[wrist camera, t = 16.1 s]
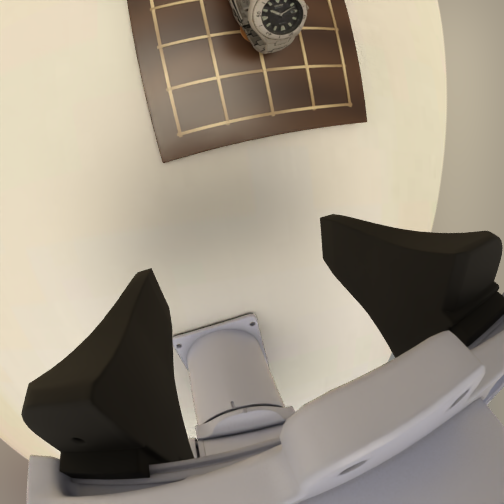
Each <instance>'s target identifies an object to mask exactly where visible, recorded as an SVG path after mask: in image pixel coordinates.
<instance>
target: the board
mask: <svg viewBox="0 0 504 504" xmlns="http://www.w3.org/2000/svg"><path fill="white" fill-rule="evenodd" d="M304 1H305V3H306V5H307V6H308V7H309V9H308V10H307V17H306V20H305V23H304V26H303V28H302V30H301V31H300V33H299V34H298V35H297V36H295V39H294V40H293V42H292V43H291V44H290V45H289V46H287V47H286V48H284V49H282V50H280V51H277V52H274V53H267V54H263V53H260V52H258V51H256V50H255V49H254V47H253V46H252V44H251V42H250V41H249V40H248V38H247V35H246V34H245V32H244V30H243V29H242V27H241V26H240V25H239V24H238V22H237V21H236V19H235V18H234V15H233V14H234V13H233V9H232V7H231V6H230V2H229V0H127V3H128V9H129V15H130V21H131V27H132V33H133V38H134V43H135V49H136V54H137V59H138V63H139V68H140V73H141V78H142V82H143V87H144V91H145V95H146V100H147V104H148V108H149V112H150V116H151V120H152V124H153V128H154V132H155V136H156V139H157V143H158V147H159V151H160V154H161V158H162V162H163V163H166V162H169V161H172V160H176V159H179V158H182V157H186V156H189V155H193V154H196V153H200V152H204V151H208V150H211V149H215V148H219V147H223V146H227V145H231V144H236V143H240V142H244V141H249V140H254V139H258V138H263V137H268V136H273V135H278V134H284V133H289V132H295V131H301V130H307V129H314V128H321V127H328V126H336V125H344V124H353V123H363V122H367V116H366V108H365V100H364V92H363V86H362V79H361V73H360V67H359V62H358V56H357V51H356V46H355V41H354V37H353V32H352V28H351V24H350V20H349V16H348V12H347V8H346V5H345V1H344V0H304Z"/></svg>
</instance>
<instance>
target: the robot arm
mask: <svg viewBox="0 0 504 504" xmlns="http://www.w3.org/2000/svg"><path fill="white" fill-rule="evenodd" d="M320 224H321V236H322V251H323V259H324V261H325V262H326V264H327V266H328V267H329V269H330V270H331V271H332V273H333V274H334V276H335V277H336V278H337V279H338V280H339V281H340V282H341V284H342V285H343V286H344V287H345V288H346V289H347V290H348V291H349V292H350V293H351V295H352V296H353V297H354V298H355V299H356V300H357V301H358V302H359V303H360V305H361V306H362V307H363V308H364V309H365V310H366V312H367V313H368V314H369V316H370V317H371V319H372V320H373V322H374V323H375V325H376V326H377V328H378V329H379V331H380V332H381V334H382V335H383V337H384V339H385V340H386V342H387V344H388V345H389V347H390V349H391V351H392V353H393V355H394V356H395V358H394V359H393V360H391V361H389V362H387V363H385V364H383V365H382V366H380V367H378V368H376V369H374V370H372V371H370V372H368V373H366V374H364V375H362V376H360V377H358V378H356V379H354V380H352V381H350V382H348V383H346V384H343V385H341V386H339V387H337V388H335V389H332V390H330V391H328V392H326V393H325V394H323V395H321V396H319V397H317V398H316V399H314V400H312V401H310V402H308V403H306V404H304V405H303V406H302V407H301V408H300V409H299V410H297V411H296V412H295V411H294V409H293V406H289V407H285V405H284V403H283V400H282V398H281V396H280V393H279V391H278V389H277V386H276V384H275V382H274V379H273V377H272V374H271V372H270V369H269V365H268V361H267V357H266V353H265V350H264V346H263V342H262V338H261V334H260V330H259V326H258V322H257V318H256V316H255V315H254V314H248V315H244V316H241V317H238V318H235V319H232V320H229V321H225V322H222V323H219V324H215V325H212V326H209V327H205V328H202V329H199V330H195V331H192V332H188V333H185V334H181V335H177V336H174V337H173V338H172V323H171V317H170V310H169V306H168V304H167V302H166V300H165V298H164V295H163V293H162V291H161V289H160V286H159V284H158V282H157V280H156V277H155V275H154V273H153V271H152V268H150V269H147V270H144V271H141V272H138V273H137V274H136V275H135V276H134V278H133V279H132V280H131V282H130V283H129V285H128V286H127V287H126V289H125V290H124V292H123V293H122V295H121V296H120V298H119V299H118V300H117V302H116V303H115V304H114V306H113V307H112V308H111V310H110V311H109V312H108V314H107V315H106V316H105V318H104V319H103V320H102V321H101V323H100V324H99V325H98V326H97V327H96V328H95V330H94V331H93V332H92V333H91V334H90V335H89V336H88V337H87V338H86V339H85V340H84V341H83V342H82V343H81V344H80V345H79V346H78V347H77V348H76V349H75V350H74V351H73V352H71V353H70V354H69V355H68V356H67V357H66V358H64V359H63V360H62V361H61V362H59V363H58V364H57V365H56V366H54V367H53V368H52V369H50V370H49V371H47V372H46V373H44V374H43V375H41V376H40V377H38V378H37V379H35V380H34V381H32V382H31V383H29V385H28V389H27V393H26V397H25V401H24V405H23V409H22V414H21V415H22V418H23V420H24V422H25V423H26V425H27V426H28V427H29V428H30V429H31V430H32V431H33V432H34V433H35V434H37V435H38V436H39V437H41V438H42V439H43V440H45V441H46V442H47V443H49V444H50V445H52V446H53V447H55V448H56V449H58V450H59V451H61V455H60V459H58V458H55V457H50V456H38V455H30V458H29V468H28V469H29V470H28V483H27V504H504V426H503V425H502V424H501V422H500V421H499V420H498V418H497V417H496V416H495V415H494V413H493V412H492V411H491V410H490V408H489V407H488V406H487V404H488V403H489V402H490V401H491V400H492V399H493V398H494V397H495V396H496V395H497V394H498V392H499V391H500V390H501V389H502V388H503V387H504V293H503V295H501V294H500V293H499V292H497V291H498V289H499V285H498V284H496V283H495V282H494V279H495V276H496V273H497V270H498V266H499V263H500V260H501V255H502V242H501V240H500V238H499V237H497V236H496V235H495V234H493V233H491V232H489V231H479V232H468V233H430V232H419V231H411V230H404V229H398V228H393V227H389V226H384V225H379V224H375V223H371V222H367V221H363V220H359V219H355V218H351V217H347V216H342V215H335V214H332V215H328V216H325V217H321V218H320ZM251 322H253V323H251ZM250 323H251V324H250ZM177 344H181V345H177ZM173 346H174V348H175V350H176V351H177V353H178V355H179V357H180V358H181V360H182V362H183V363H184V365H185V367H186V368H187V370H188V372H189V377H190V384H191V390H192V396H193V402H194V408H195V414H196V419H197V424H198V425H196V426H195V429H196V434H197V439H198V441H197V439H196V438H189V439H188V437H187V433H186V429H185V426H184V422H183V418H182V414H181V410H180V405H179V401H178V396H177V391H176V385H175V379H174V366H173Z"/></svg>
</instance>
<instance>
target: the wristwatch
mask: <svg viewBox="0 0 504 504" xmlns="http://www.w3.org/2000/svg"><path fill="white" fill-rule="evenodd" d="M229 2H230V6H231V7H232V9H233V13H234V14H233V15H234V18H235V19H236V21H237V22H238V24H239V25H240V26H241V27H242V29H243V30H244V32H245V34H246V35H247V38H248V40H249V41H250V42H251V44H252V46H253V47H254V49H255V50H256V51H258V52H260V53H263V54H267V53H274V52H277V51H280V50H282V49H284V48H286V47H287V46H289V45H290V44H291V43H292V42H293V40H294V39H295V36H297V35H298V34H299V33H300V31H301V30H302V28H303V26H304V23H305V20H306V17H307V10H308V9H309V7H308V6H307V5H306V3H305V1H304V0H229Z"/></svg>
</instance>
